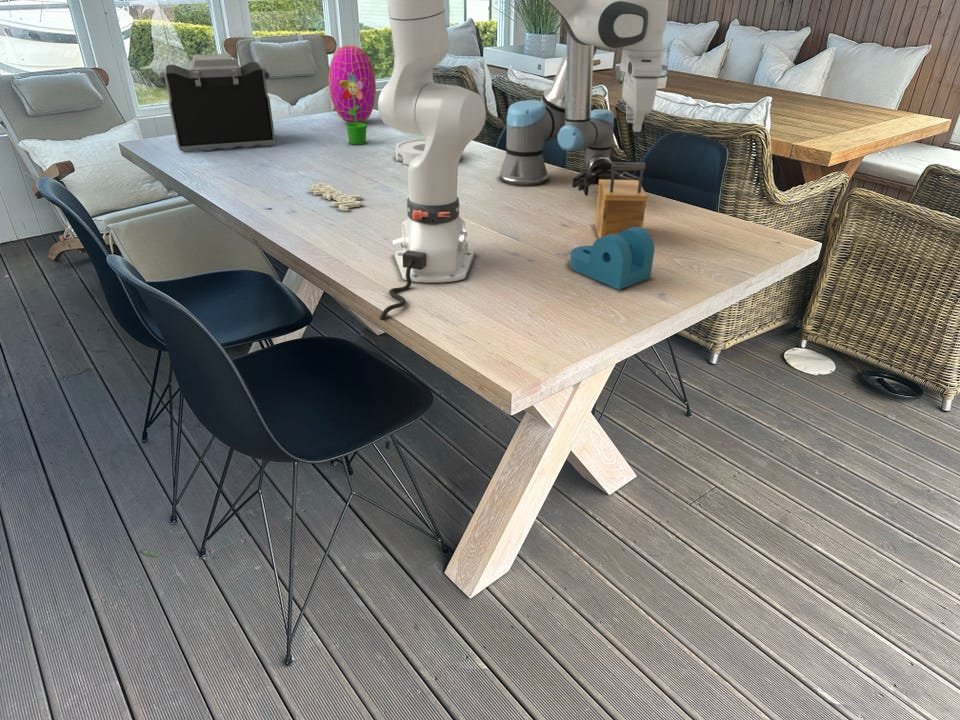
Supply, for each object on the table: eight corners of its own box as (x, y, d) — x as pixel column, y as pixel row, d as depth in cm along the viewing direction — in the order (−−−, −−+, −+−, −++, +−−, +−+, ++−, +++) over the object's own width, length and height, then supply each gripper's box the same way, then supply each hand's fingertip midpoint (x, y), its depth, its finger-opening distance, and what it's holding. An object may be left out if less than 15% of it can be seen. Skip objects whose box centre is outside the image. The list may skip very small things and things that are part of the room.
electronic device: (273, 133, 274) (261, 51, 258) (280, 146, 256) (268, 58, 241) (174, 140, 262) (156, 54, 247) (174, 153, 244) (155, 62, 229)
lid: (647, 201, 167) (651, 165, 163) (605, 200, 167) (609, 165, 163) (637, 184, 179) (641, 151, 174) (598, 184, 179) (601, 150, 175)
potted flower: (342, 144, 260) (336, 73, 247) (351, 139, 266) (346, 70, 254) (365, 146, 257) (360, 74, 245) (374, 141, 264) (369, 71, 251)
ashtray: (454, 167, 232) (454, 155, 230) (388, 164, 235) (387, 152, 233) (466, 151, 252) (466, 140, 250) (404, 148, 255) (404, 137, 253)
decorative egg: (362, 116, 305) (357, 42, 290) (386, 123, 292) (382, 46, 277) (324, 121, 294) (316, 45, 279) (347, 129, 281) (340, 49, 266)
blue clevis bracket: (650, 277, 154) (656, 233, 149) (619, 289, 148) (624, 243, 143) (591, 254, 166) (595, 212, 161) (560, 264, 160) (563, 221, 155)
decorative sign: (374, 202, 196) (343, 208, 191) (374, 205, 197) (343, 211, 191) (331, 180, 214) (301, 186, 209) (332, 183, 215) (302, 189, 209)
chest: (640, 243, 173) (646, 200, 168) (600, 242, 174) (604, 199, 168) (632, 226, 184) (637, 185, 179) (594, 225, 185) (598, 184, 179)
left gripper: (619, 57, 163) (613, 117, 170) (634, 69, 145) (626, 136, 152) (646, 57, 163) (638, 118, 170) (664, 69, 145) (654, 136, 152)
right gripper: (641, 183, 210) (654, 205, 192) (559, 182, 210) (565, 203, 192) (644, 158, 206) (658, 178, 188) (561, 157, 207) (567, 177, 188)
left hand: (633, 126), depth 161 cm, fingers open, 8 cm apart
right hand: (611, 191), depth 190 cm, fingers open, 13 cm apart
